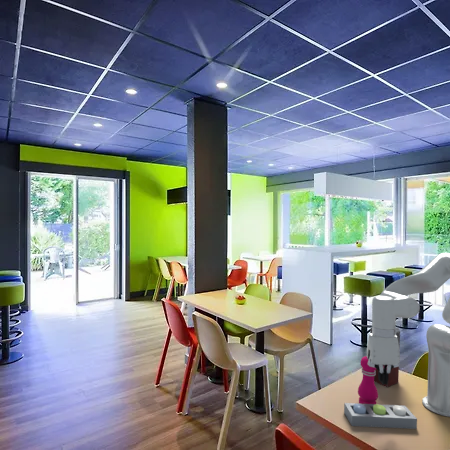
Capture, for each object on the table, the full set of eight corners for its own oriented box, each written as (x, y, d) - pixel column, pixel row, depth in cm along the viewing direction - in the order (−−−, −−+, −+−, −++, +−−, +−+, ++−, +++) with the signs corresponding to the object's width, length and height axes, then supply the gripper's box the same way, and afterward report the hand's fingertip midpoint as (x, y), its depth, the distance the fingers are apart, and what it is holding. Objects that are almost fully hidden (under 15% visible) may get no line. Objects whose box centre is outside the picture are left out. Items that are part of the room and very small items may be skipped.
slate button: (362, 414, 119) (363, 403, 119) (367, 421, 115) (367, 410, 115) (351, 414, 119) (351, 403, 119) (355, 421, 115) (355, 409, 115)
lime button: (382, 415, 119) (382, 404, 119) (387, 422, 115) (387, 411, 115) (371, 415, 119) (371, 404, 119) (375, 421, 115) (376, 410, 115)
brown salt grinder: (401, 381, 147) (403, 318, 146) (387, 387, 140) (389, 322, 140) (382, 373, 154) (384, 313, 154) (368, 378, 148) (370, 317, 147)
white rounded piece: (401, 416, 118) (402, 405, 118) (407, 423, 114) (408, 412, 114) (390, 416, 119) (391, 405, 118) (396, 422, 115) (396, 411, 114)
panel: (404, 415, 120) (404, 405, 120) (416, 428, 112) (417, 418, 112) (344, 412, 121) (344, 402, 121) (351, 425, 113) (352, 415, 113)
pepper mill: (379, 411, 122) (381, 357, 122) (359, 408, 124) (361, 355, 124) (375, 400, 130) (376, 350, 129) (355, 398, 131) (357, 348, 131)
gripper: (399, 328, 120) (399, 377, 121) (358, 327, 121) (358, 377, 121) (410, 335, 113) (410, 388, 113) (366, 335, 113) (366, 387, 114)
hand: (383, 382), depth 117 cm, fingers closed
